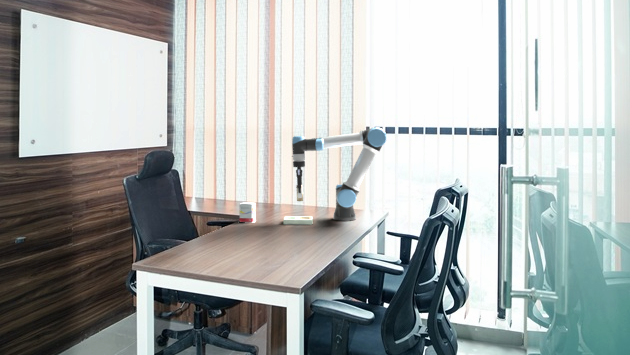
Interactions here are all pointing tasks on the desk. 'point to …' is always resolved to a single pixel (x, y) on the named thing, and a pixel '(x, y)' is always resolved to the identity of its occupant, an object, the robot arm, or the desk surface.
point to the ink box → (247, 212)
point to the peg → (302, 194)
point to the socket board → (298, 220)
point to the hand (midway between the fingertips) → (300, 197)
